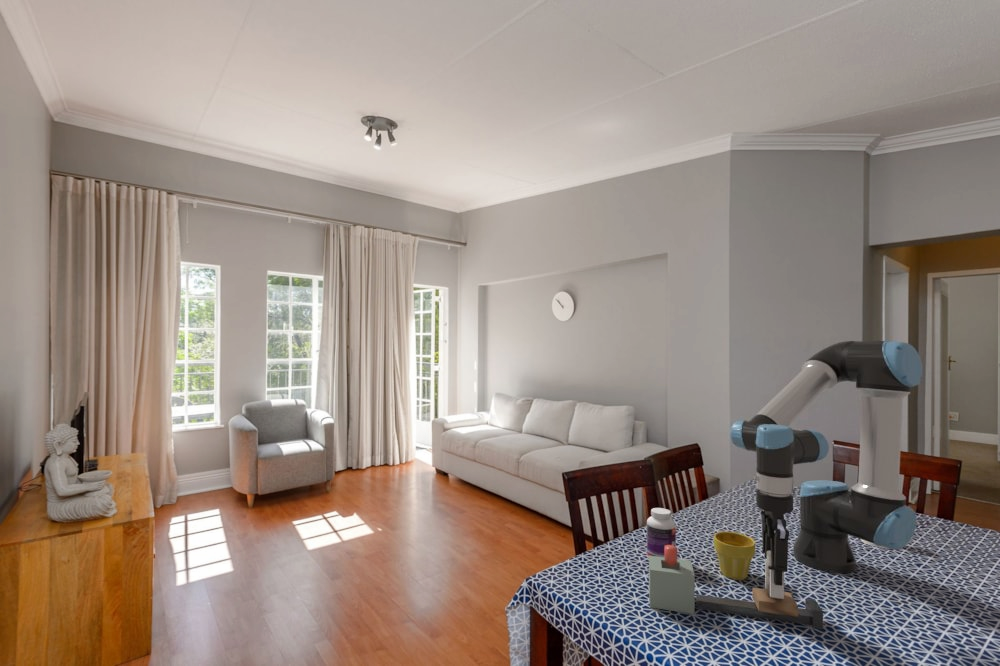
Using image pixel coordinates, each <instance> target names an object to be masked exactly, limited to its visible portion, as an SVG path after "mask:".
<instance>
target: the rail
mask: <svg viewBox="0 0 1000 666" xmlns="http://www.w3.org/2000/svg"><path fill="white" fill-rule="evenodd" d="M804 600H805V601H804V605H805V607H804V608H801V607H800V608H799V607H798V617H797V616H790V615H783V614H776V613H769V612H762V611H758V608H757V606H756V604H755V602H754V601H748V600H740V599H734V598H733V599H732V598H727V597H726V598H725V597H719V596H712V595H711V596H710V595H704V594H697V593H696V594H695V604H696V607H697V610H703V611H708V612H717V613H723V614H730V615H736V616H743V617H750V618H751V617H752V618H757V619H765V620H771V621H778V622H784V623H793V624H800V625H806V626H811V627H812V629H817V630H824V610H823V609H822V607H821V606H820V604H819V603H818V602H817V601H816V599H812V598H805V599H804Z"/></svg>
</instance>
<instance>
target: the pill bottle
mask: <svg viewBox="0 0 1000 666" xmlns="http://www.w3.org/2000/svg"><path fill="white" fill-rule="evenodd" d="M650 515H651V516H649V517H648V518H647V520H646V558H647V560H649V556H657V557H664V546H665V545H673V546H676V547H677V545H676V543H677V541H676V540H677V538H676V531H677V529H676V528H677V525H676V522H675V520H674V519H672V511H671V510H670V509H666V508H663V507H653V508H651V510H650Z"/></svg>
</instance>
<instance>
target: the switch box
mask: <svg viewBox="0 0 1000 666" xmlns="http://www.w3.org/2000/svg"><path fill="white" fill-rule="evenodd" d="M695 577H696V576H695V571H694V568H693V565H692V561H691V560H688V559H680V558H677V566H675V567H671V566H667V565H666V564H665V563H664V557H657V556H649V559H648V597H649V598H648V599H649V600H648V601H649V608H652V609H658V610H666V611H671V612H677V613H678V612H680V613H686V614H692V615H694V614H695V604H696V594H695V588H696V587H695V586H696V585H695Z"/></svg>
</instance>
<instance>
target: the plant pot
mask: <svg viewBox="0 0 1000 666" xmlns="http://www.w3.org/2000/svg"><path fill="white" fill-rule="evenodd" d="M713 548H714V550H715V551H716V555H717V559H718V564H719V569H720V573H721V574H722V575H723V576H725V577H726V578H729V579H733V580H737V581H741V580H742V581H743V580H745V579H747V578H748V575H749V571H750V567H751V563H752V559H753V558H754V557H755V556H756V542H755V540H754V539H753V538H751V536H747V535H746V534H744V533H739V532H736V531H735V532H734V531H725V530H724V531H718V532H716V533H714V535H713Z"/></svg>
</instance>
